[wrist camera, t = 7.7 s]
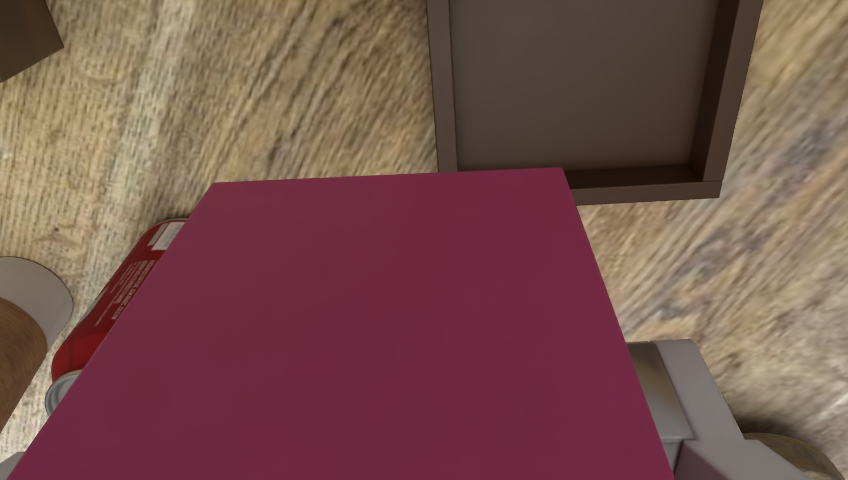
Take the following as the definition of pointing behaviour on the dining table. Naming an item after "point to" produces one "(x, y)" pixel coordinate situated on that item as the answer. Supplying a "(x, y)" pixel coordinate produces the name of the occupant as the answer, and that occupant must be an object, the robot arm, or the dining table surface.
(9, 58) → the walnut block
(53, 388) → the soda can
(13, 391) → the coffee cup
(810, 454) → the bowl
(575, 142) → the tray
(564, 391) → the pink block
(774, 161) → the dining table surface
